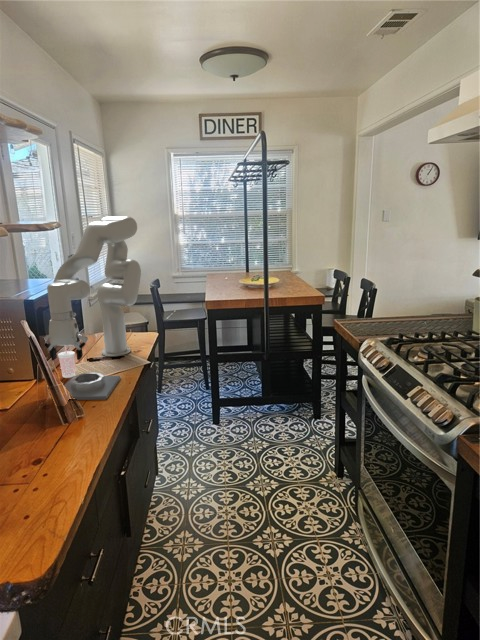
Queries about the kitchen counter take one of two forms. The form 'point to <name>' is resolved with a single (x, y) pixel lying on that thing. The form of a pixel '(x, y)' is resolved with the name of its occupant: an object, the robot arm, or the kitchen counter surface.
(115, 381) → the plate
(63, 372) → the beverage cup
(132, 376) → the kitchen counter surface
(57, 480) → the kitchen counter surface
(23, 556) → the kitchen counter surface
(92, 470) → the kitchen counter surface
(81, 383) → the steel collar
